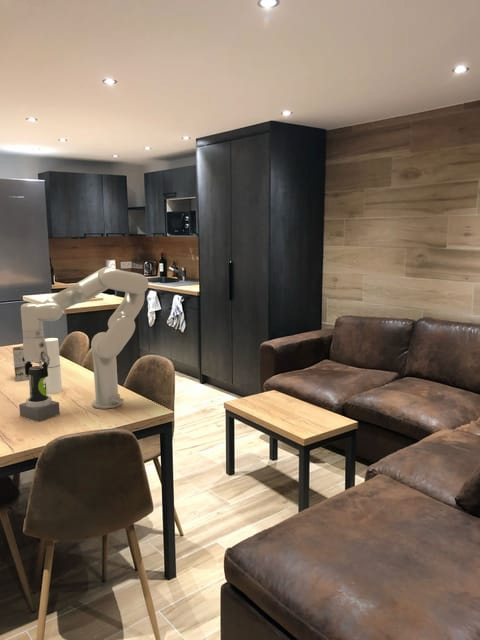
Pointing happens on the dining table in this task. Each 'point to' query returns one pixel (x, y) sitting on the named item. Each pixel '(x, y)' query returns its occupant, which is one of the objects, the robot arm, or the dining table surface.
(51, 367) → the cylindrical container
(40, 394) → the beverage can
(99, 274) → the robot arm
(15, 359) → the coffee box
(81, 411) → the dining table surface
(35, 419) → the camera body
